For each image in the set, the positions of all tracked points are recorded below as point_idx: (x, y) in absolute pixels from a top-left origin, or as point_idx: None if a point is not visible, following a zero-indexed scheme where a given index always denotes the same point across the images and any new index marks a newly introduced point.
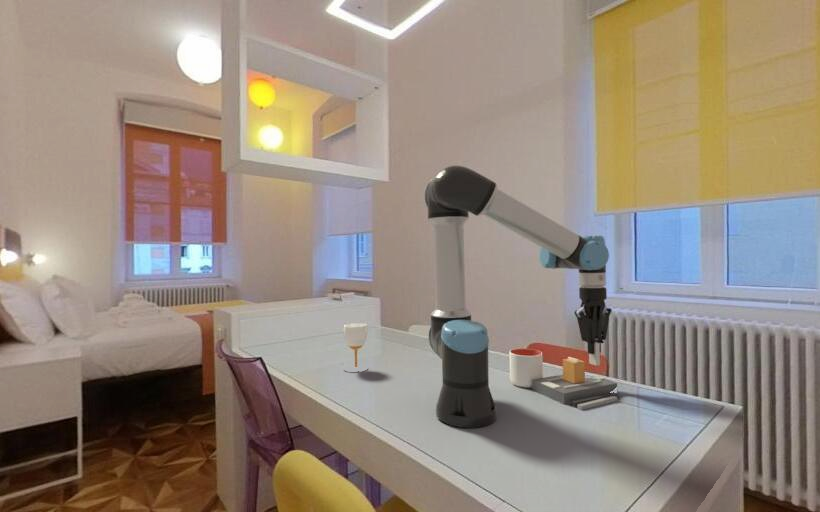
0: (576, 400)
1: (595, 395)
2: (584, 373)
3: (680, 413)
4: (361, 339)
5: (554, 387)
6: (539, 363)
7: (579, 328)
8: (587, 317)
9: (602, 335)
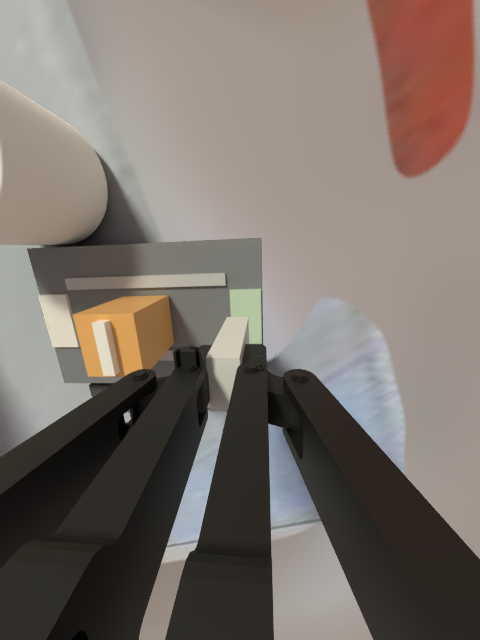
0: (103, 388)
1: None
2: (163, 354)
3: (280, 490)
4: None
5: (56, 347)
6: (9, 241)
7: (31, 439)
8: (35, 626)
9: (288, 437)
